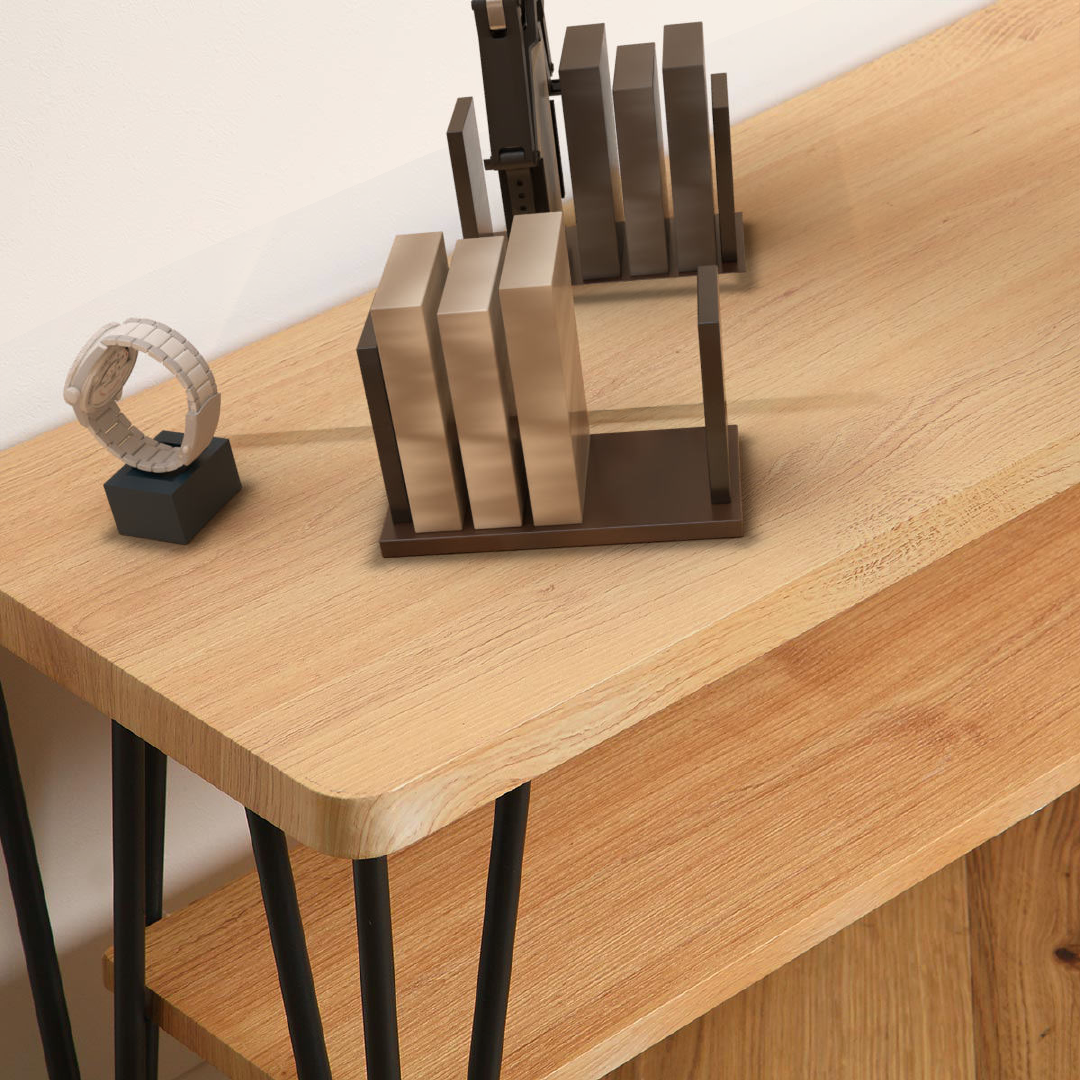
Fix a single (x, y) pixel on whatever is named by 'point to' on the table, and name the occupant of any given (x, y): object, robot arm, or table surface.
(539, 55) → the beige book
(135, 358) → the watch
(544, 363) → the brown rack
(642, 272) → the grey rack
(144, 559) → the table surface
